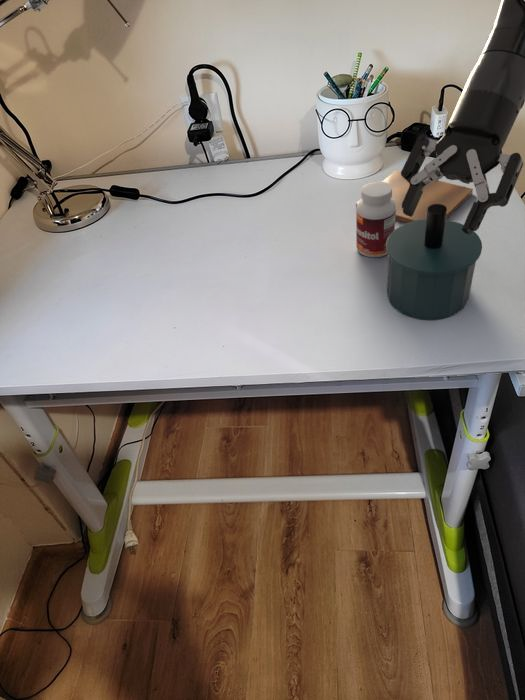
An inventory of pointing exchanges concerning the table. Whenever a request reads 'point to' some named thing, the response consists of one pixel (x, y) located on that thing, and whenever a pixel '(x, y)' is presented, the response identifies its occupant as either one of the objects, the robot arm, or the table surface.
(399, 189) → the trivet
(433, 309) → the pot
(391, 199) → the pill bottle
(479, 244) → the lid
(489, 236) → the table surface
